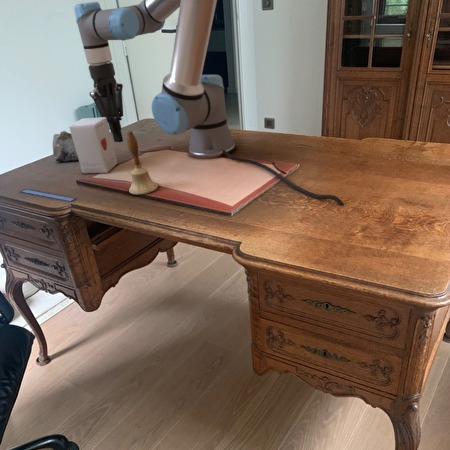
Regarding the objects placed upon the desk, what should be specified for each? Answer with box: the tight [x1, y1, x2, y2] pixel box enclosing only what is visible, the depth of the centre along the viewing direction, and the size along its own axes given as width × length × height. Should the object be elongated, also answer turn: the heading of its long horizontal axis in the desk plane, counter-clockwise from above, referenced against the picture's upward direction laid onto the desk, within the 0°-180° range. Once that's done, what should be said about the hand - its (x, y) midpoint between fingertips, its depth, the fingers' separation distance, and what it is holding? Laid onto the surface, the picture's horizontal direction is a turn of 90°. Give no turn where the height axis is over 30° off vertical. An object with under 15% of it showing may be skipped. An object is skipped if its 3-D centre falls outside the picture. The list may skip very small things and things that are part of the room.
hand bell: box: [126, 130, 159, 196], centre depth 121 cm, size 8×8×16 cm
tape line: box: [21, 189, 75, 202], centre depth 129 cm, size 22×2×1 cm, turn 58°
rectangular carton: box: [68, 116, 118, 174], centre depth 140 cm, size 9×9×15 cm
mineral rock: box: [52, 130, 79, 163], centre depth 152 cm, size 13×11×10 cm
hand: (118, 141), depth 148 cm, fingers closed
